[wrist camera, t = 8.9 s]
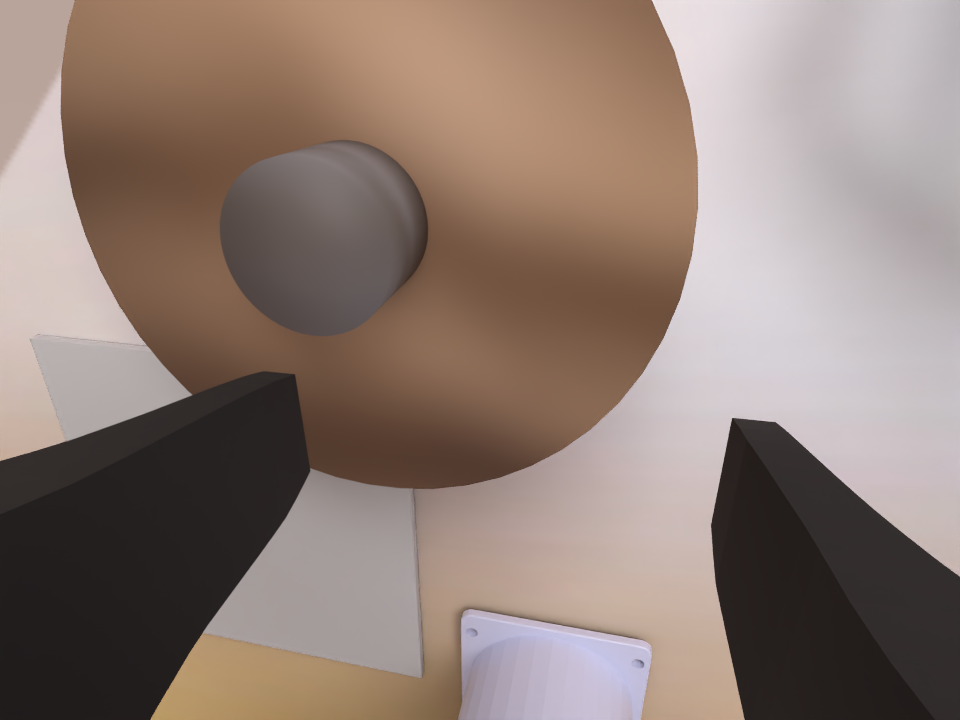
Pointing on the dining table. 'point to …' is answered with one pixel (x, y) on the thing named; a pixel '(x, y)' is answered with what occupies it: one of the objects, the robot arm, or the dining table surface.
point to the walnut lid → (391, 211)
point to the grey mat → (297, 543)
